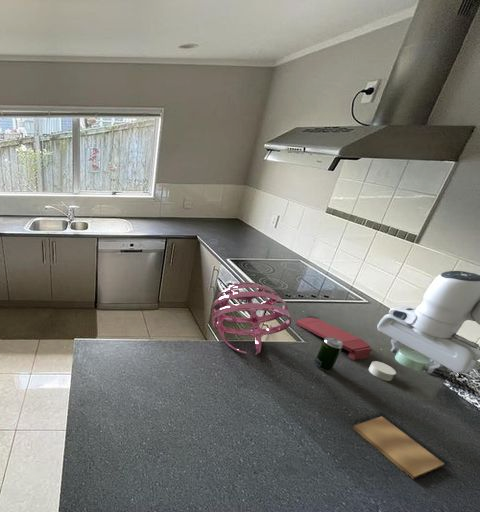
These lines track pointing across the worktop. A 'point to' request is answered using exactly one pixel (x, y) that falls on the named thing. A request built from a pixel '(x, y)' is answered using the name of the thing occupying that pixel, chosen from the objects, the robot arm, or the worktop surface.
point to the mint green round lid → (411, 359)
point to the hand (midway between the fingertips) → (410, 361)
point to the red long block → (337, 337)
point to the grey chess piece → (436, 369)
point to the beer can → (328, 353)
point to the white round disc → (382, 370)
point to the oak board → (398, 447)
